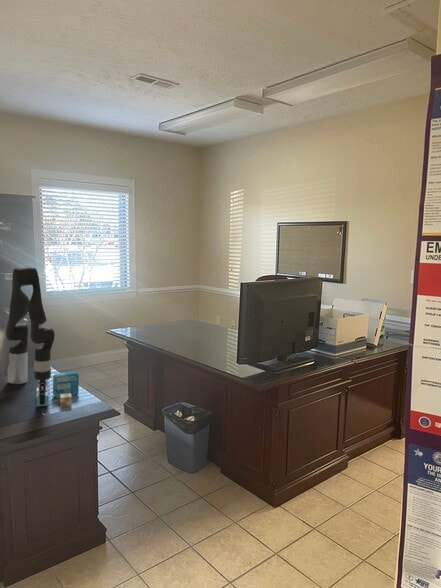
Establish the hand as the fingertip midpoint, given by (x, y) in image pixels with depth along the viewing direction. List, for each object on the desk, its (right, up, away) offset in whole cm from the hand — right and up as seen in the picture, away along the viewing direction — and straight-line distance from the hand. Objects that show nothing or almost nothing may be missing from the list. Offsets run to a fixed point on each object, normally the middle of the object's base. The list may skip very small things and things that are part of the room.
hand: (42, 402), depth 209 cm
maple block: (+10, -2, +4) cm, 11 cm away
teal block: (0, -1, 0) cm, 1 cm away
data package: (+6, -1, +16) cm, 17 cm away
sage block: (-5, -1, +10) cm, 11 cm away
